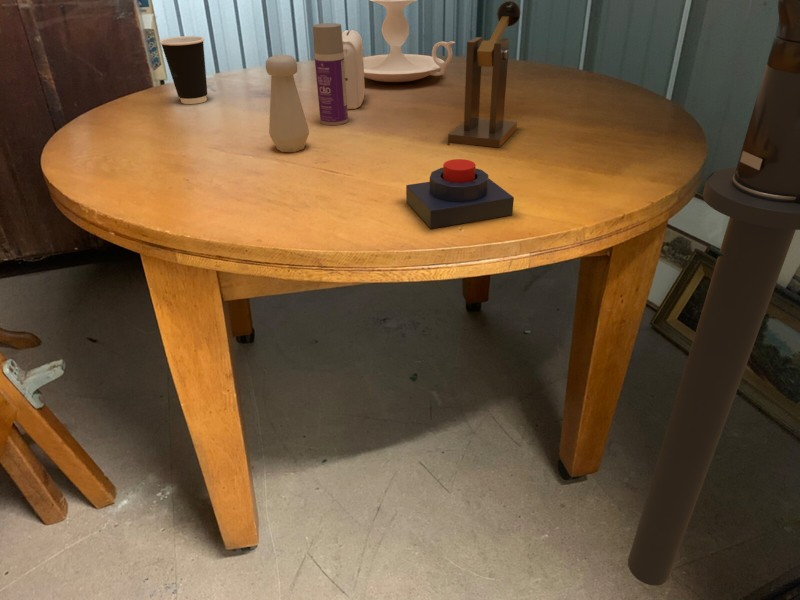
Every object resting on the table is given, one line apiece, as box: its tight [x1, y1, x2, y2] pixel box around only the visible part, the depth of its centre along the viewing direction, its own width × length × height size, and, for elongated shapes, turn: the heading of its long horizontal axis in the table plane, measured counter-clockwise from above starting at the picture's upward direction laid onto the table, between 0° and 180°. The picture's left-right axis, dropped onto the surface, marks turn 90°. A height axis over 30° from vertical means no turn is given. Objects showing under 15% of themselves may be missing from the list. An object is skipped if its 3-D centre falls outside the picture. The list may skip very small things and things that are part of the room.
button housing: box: [405, 167, 515, 230], centre depth 69 cm, size 10×8×4 cm
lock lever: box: [477, 0, 521, 68], centre depth 90 cm, size 14×4×4 cm, turn 156°
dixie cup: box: [158, 35, 208, 105], centre depth 113 cm, size 8×8×11 cm
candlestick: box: [363, 0, 456, 83], centre depth 120 cm, size 21×25×28 cm
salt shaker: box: [265, 54, 310, 153], centre depth 87 cm, size 6×6×13 cm
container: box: [312, 22, 349, 126], centre depth 98 cm, size 5×5×15 cm
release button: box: [442, 158, 477, 183], centre depth 68 cm, size 4×4×2 cm
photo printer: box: [342, 29, 366, 110], centre depth 109 cm, size 10×4×12 cm, turn 177°
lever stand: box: [447, 36, 518, 149], centre depth 90 cm, size 10×8×14 cm
